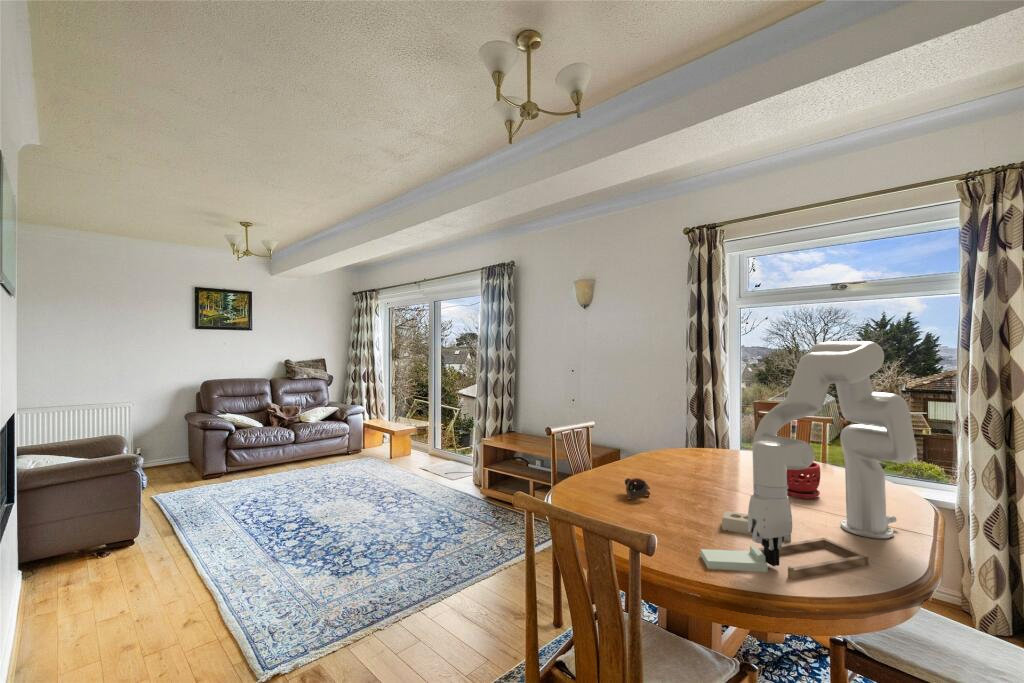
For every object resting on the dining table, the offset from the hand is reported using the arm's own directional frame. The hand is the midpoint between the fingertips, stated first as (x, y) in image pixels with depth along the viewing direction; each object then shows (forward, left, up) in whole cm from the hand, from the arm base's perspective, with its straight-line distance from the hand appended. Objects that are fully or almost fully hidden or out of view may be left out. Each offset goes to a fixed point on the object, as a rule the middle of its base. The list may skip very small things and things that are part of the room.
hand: (771, 563), depth 116 cm
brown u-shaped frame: (-12, 0, -1) cm, 12 cm away
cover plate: (+8, -5, -2) cm, 9 cm away
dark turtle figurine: (+4, -59, -1) cm, 59 cm away
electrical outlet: (-14, -20, -2) cm, 24 cm away
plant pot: (-55, -42, -1) cm, 69 cm away
